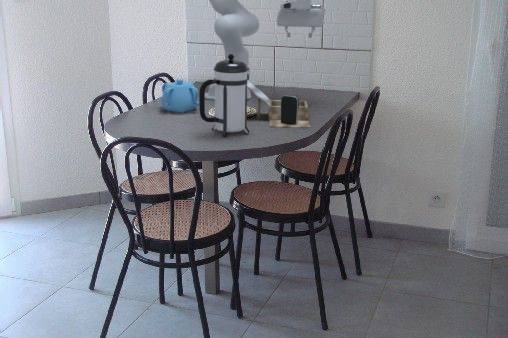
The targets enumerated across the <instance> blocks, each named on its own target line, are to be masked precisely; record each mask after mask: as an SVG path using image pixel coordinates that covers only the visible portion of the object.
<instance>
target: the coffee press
mask: <svg viewBox="0 0 508 338" xmlns="http://www.w3.org/2000/svg"><path fill="white" fill-rule="evenodd" d="M228 58H229V60H225V59H224V60H220V61H218V62H216V64H215V66H213V72H214V78H213V79H207V80H205V81H203V83H202V84H201V86H200V88H199V94H198V98H199V106H198V108H199V109H198V110H199V116H200V118H201V119H202V120H203V121H204V122H206V123H214V125H213V126H212V128H211V130H212V132H215V131H217V130H218V131H220V132H222V134H221V136H222V137H223V138H227V136H228V133H238V132H242V133H244V134H245V135H247V136H248V135H249V133H250V130H249V128H248V127H247V120H248V119H247V118H248V117H247V116H248V115H247V113H248V112H247V111H248V110H247V109H248V99H247V82H248V78H247V74H251V73H250V72H249V71H248V68H247V66H246V64H245V63H244V62H242V61H238V60H233V59H234V55H233V54H229V55H228ZM211 84H215V100H214V115H213V116H212V117H207V115H206V110H205V109H206V107H205V104H206V103H205V102H206V101H205V93H206V89H207V87H208V86H210V85H211ZM214 127H215V129H214ZM245 130H246V131H247V132H246V131H245Z"/></svg>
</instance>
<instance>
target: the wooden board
mask: <svg viewBox="0 0 508 338" xmlns="http://www.w3.org/2000/svg"><path fill="white" fill-rule="evenodd" d="M281 127H282V128H283V129H284V128H288V129H290V128H292V129H311V124H310V121H309V120H307V121H300V120H297V124H286V123H281V120H270V121H269V128H281Z"/></svg>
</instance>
